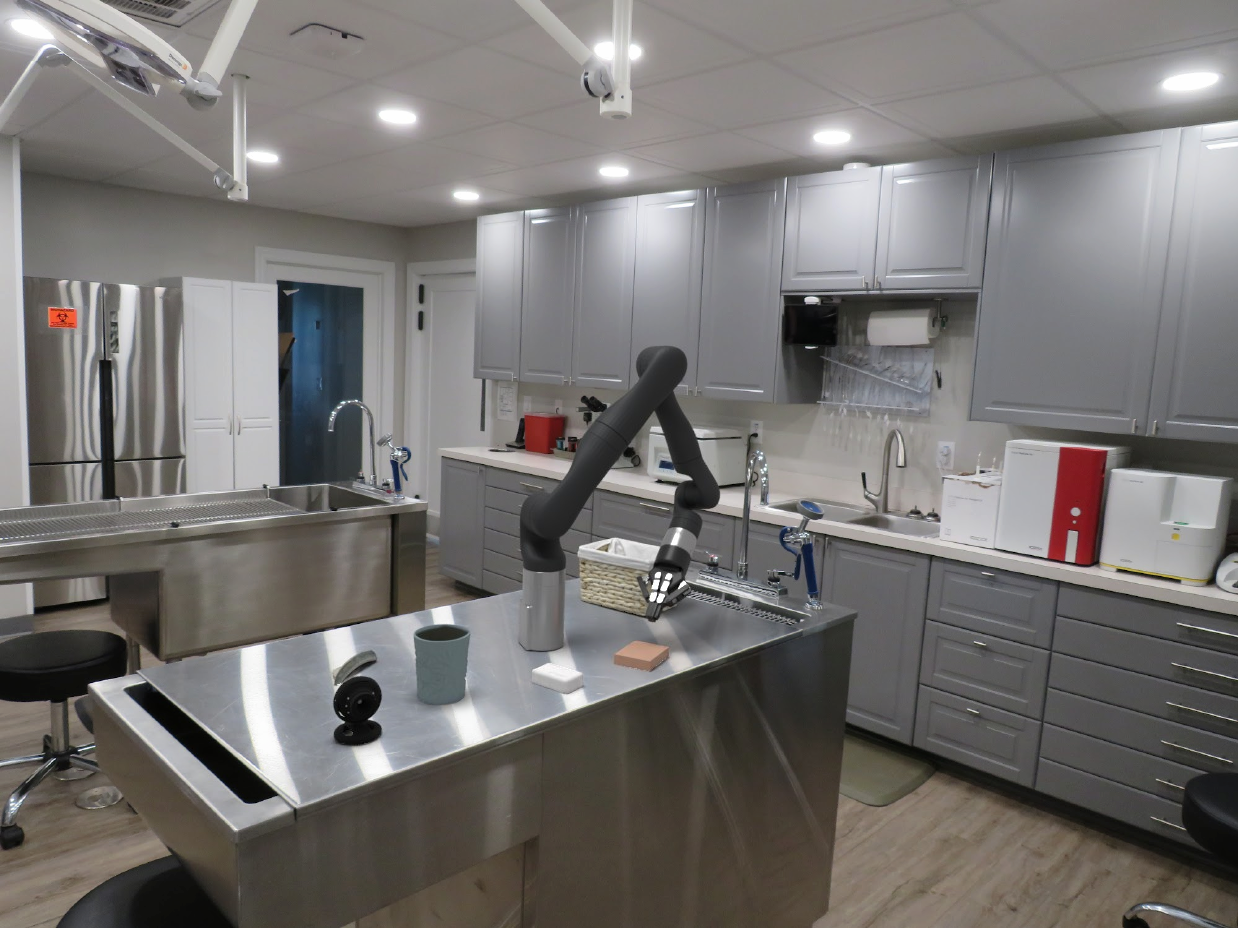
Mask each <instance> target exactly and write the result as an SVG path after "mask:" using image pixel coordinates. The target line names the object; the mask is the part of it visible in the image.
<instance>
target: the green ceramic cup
mask: <svg viewBox="0 0 1238 928" xmlns="http://www.w3.org/2000/svg"><path fill="white" fill-rule="evenodd" d="M470 639H471V630H470V629H469V628H467V627H465V626H463V625H458V624H450V623H449V624H447V623H441V624H440V623H439V624H438V623H437V624H430V625H426V626H423V627H420V628H418V629H416V630H415V631H414V632H413V644H414V645H413V646H414V654H415V659H414V661H415V674H416V690H417V691H416V693H417V698H418V700H419V701H421V702H423V703H424V704H427V705H432V706H433V705H434V706H441V705H443V706H445V705H450V704H455V703H457V702H460V701H461V700H462V699H463V698H464V697H465V695H466V686H467V685H466V684H467V680H466V677H467V673H468V663H469V660H468V657H469V647H470V646H469V645H470V642H471V640H470Z"/></svg>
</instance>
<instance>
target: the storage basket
mask: <svg viewBox="0 0 1238 928" xmlns="http://www.w3.org/2000/svg"><path fill="white" fill-rule="evenodd" d="M659 549H660V545H659V546H658V545H652V544H646V543H643V542H642V543H641V542H639V541H633V540H629V539H623V538H620V537H611V538H608V539H603V540H599V541H594V542H590V543H586V544H582V545H580V546H579V548H578V551H577V557H578V558H579V559H578V560H579V580H580V581H579V585H580V600H581V601H583V602H586V603H588V604H594V605H598V606H601V605H602V607H603V608H610V609H615V610H617V611H621V612H624V611H625V612H627V613H628V614H629V613H630V614H632V613H633V614H634V615H635V614H636V615H638V616H643V617H646V610H647V608H648V605H649V603H647V602H646V600H645V598H644V597H643V594H642V591H641V589H640V586H639V584H638V581H637V577H638V576H641V577H644V576H647V575H648V573H649V571H650V570H651V569H652V568H653V565H654V561H655V559H656V556H657V554H658V551H659ZM678 589H679V588H678ZM678 589H677V590H678ZM647 590H648V592H649V595H650V596H651V593H652V585H651V582H650V581H649V585H648V587H647ZM678 603H679V602H678ZM678 603H677V604H675V605H674V606H673V607H669V606H666V607H664V608H663V610H662V612H666V611H667V610H670V609H673V608H675V607H676V606H677V607H678Z"/></svg>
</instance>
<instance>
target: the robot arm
mask: <svg viewBox="0 0 1238 928" xmlns="http://www.w3.org/2000/svg"><path fill="white" fill-rule="evenodd" d="M635 369H636V374H637V376H638V380H637V382H636V383H635V384H634V385H633V386H632V388H630V390H629V391H628V392H627V393H625V394H624V395H623V396H621V397H619V399H617V400H616V401H615V402H614V403H611V405H610V406H608V407H607V408H606V409H605V410H604V411H602V412H601V413H600V414H599V415H598V416H597V417H596V418H595V419H594V421H593V422H592V424H591V425H589V427H588V429H587V430H586V431H585V433H584V434H583V435H582V437H581V438H580V440H579V443H578V445H577V446H576V450H575V453H574V457H573V458H572V459H573V460H572V463H571V464H570V467H569V469H568V472H566V475H565V476H564V478H563V479H562V480H561V482H559V483H558V485H557V486H556V487H555V488H554V489H553V491H552V492H551V493H549V492H545V491H536V492H533V493H531V494H529V495H528V496H527V497H526V498H525V499H524V501H523V503H522V505H521V509H520V514H519V545H520V546H519V549H520V554H521V557H522V595H521V596H522V597H521V599H519V601H518V602H519V603H518V641H517V642H518V643H519V644H520V645H521V647H523V649H525V651H537V652H538V651H541V652H543V651H544V652H547V651H554V650H558V649H561V648H562V647H563V646H564V642H565V641H564V640H565V613H566V612H565V611H566V609H565V608H566V607H565V606H566V576H567V575H566V572H567V571H566V570H567V557H566V556H567V555H566V554H565V552H564V550H563V548H562V545H561V540H560V538H562V537H563V536H565V535H566V534H567V532H568V531H569V530H570V529H571V527H572V526H573V525H574V523H575V521H576V520H577V518H578V517H579V515H580V514H581V511H582V510H583V509H584V507H585V505H586V503H587V502H588V501H589V499H590V497H591V495H592V494H593V493H594V491H595V490H596V489H597V488H598V486H599V484H600V483H602V481H603V480H604V478H605V477H606V476H607V475H608V473H609V471H610V470H611V469H612V468H613V467H614V465H615V464H616V463H617V461H619V460H620V458H621V457H622V455H623V454H624V452H625V451H626V450H627V449H628V447H630V444H631V443H632V441H633V440H634V438H635V437H636V436H637V435H638V433H639V432H640V431H641V429H642V428H643V427H644V426H645V424H646V423H647V421H648V420H649V419H650V417H651V416H652V414H653V413H655V415H656V418H657V420H658V422H659V425H660V428H661V430H662V433H663V437H664V439H665V442H666V445H667V449H668V452H669V455H670V459H671V462H672V466H673V470H674V471H675V472H676V473H677V474H680V475H684V476H687V477H689V478H690V479H688V480H683V481H681V482H680V483H679V484H678V485H677V487H675V490H674V495H673V511H672V518H671V520H670V524H669V526H668V528H667V531H666V533H665V535H664V537H663V539H662V541H661V544H660V545H659V547H660V549H659V551H658V554H657V556H656V559H655V561H654V565H653V568H652V569H651V570H650V571H649V573H648V575H647V576H644V577H641V576H638V577H637V581H638V584H639V586H640V589H641V591H642V594H643V597H644V598H645V600H646V602H647V603H649V605H648V608H647V610H646V616H645V617H646V619H647V621H648V622H650V623H656V622H657V621H659V620H660V618H661V616H662V612H663V611H662V610H663V608H664V607H666V606H669V607H672V608H674V607H673V606H674V605H675V604H677V603H680V602H682V600H684V599H685V598H687V597H688V596H689V595H692V589H691V587H690V585H689V584H688V583H686V576H687V573H688V571H689V567H690V564H691V563H692V559H693V557H694V554H695V550H696V546H697V542H698V539H699V536H700V533H701V530H702V527H703V518H702V517H701V515H700V514H699V513H697V512H696V511H697V510H698V511H699V510H710V509H714V508H716V507H717V506H718V504H719V502H720V499H721V489H720V487H719V484H718V482H717V480H716V478H715V476H714V475H713V473H712V472H711V470H710V468H709V467H708V465H707V463H706V461H705V460H704V458H703V454H702V451H701V447H700V444H699V440H698V438H697V434H696V432H695V430H694V428H693V426H692V424H691V423H690V421H689V420H688V417H687V416H686V414H685V413H684V411H683V409H682V408H681V406H680V404H679V402H678V399H677V397H676V394H675V391H674V390H675V389H676V388H677V387H678V386H679V384H680V383H681V382H682V381H683V379H684V378H685V376H686V374H687V370H688V359H687V356H686V353H685V352H684V351H683V350H682V349H681V348H679V347H676V346H673V345H654V346H653V345H652V346H648V347H645V348H644V349H642V350H641V351H640V353H639V354H638V355H637V357H636V361H635ZM694 510H695V511H694ZM649 581H650V582H651V585H652V593H651V596H650V595H649V592H648V590H647V587H648V585H649ZM678 588H679V589H678ZM677 589H678V590H677ZM677 605H678V604H677Z"/></svg>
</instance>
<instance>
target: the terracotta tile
mask: <svg viewBox="0 0 1238 928" xmlns="http://www.w3.org/2000/svg"><path fill="white" fill-rule="evenodd" d="M668 656H669V657H670V647H669V646H666V645H660V644H655V643H650V642H645V641H640V640H636V639H635V640H634V641H632V642H630V643H629V644H628V645H625V646H624V647H623V648H621V649H619V650H618V651H617V652H615V653H614V656H613V659H614V660H613V665H614V666H616V665H617V666H620V665H621V667H624V666H625V668H629V667H631V669H634V668H637V669H636V670H638V669H640V670H639V671H643V670H646V671H645V672H647V671H650V672H651V671H653V670H654V669H655V668H656V667H657V666H656V665H658V664H659V663H660V662H661V663H663V662H662V660H664V659H665V658H667V657H668ZM669 657H668V658H669ZM668 658H667V659H668ZM665 660H666V659H665ZM665 660H664V661H665ZM661 663H660V664H661ZM660 664H659V665H660ZM659 665H658V666H659ZM654 667H655V668H654ZM653 668H654V669H653ZM652 669H653V670H652Z"/></svg>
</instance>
